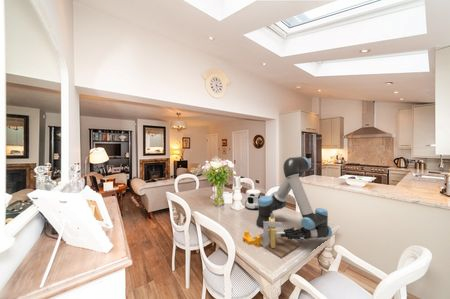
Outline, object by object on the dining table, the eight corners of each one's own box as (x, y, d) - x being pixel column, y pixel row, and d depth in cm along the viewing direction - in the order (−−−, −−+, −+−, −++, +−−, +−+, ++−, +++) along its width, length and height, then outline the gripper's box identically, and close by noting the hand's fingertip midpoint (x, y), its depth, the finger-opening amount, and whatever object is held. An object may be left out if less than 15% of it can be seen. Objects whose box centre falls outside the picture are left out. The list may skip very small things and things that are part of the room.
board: (271, 230, 139) (271, 229, 139) (301, 245, 118) (301, 243, 118) (251, 240, 126) (251, 238, 126) (281, 258, 105) (281, 256, 105)
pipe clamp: (242, 241, 125) (242, 232, 124) (246, 239, 128) (246, 230, 127) (256, 248, 116) (256, 239, 116) (260, 245, 119) (260, 236, 119)
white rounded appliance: (251, 203, 200) (250, 188, 200) (264, 207, 189) (264, 190, 188) (242, 208, 187) (242, 191, 187) (256, 212, 176) (256, 194, 175)
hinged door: (268, 232, 134) (268, 212, 133) (274, 232, 133) (274, 212, 132) (269, 247, 114) (269, 224, 113) (276, 248, 113) (276, 225, 112)
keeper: (263, 248, 116) (263, 222, 115) (263, 245, 119) (263, 220, 118) (282, 249, 114) (282, 224, 113) (281, 247, 117) (281, 222, 116)
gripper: (314, 243, 115) (279, 246, 112) (303, 233, 127) (271, 235, 125) (314, 231, 114) (279, 234, 112) (303, 222, 127) (271, 225, 124)
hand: (275, 235), depth 118 cm, fingers closed
